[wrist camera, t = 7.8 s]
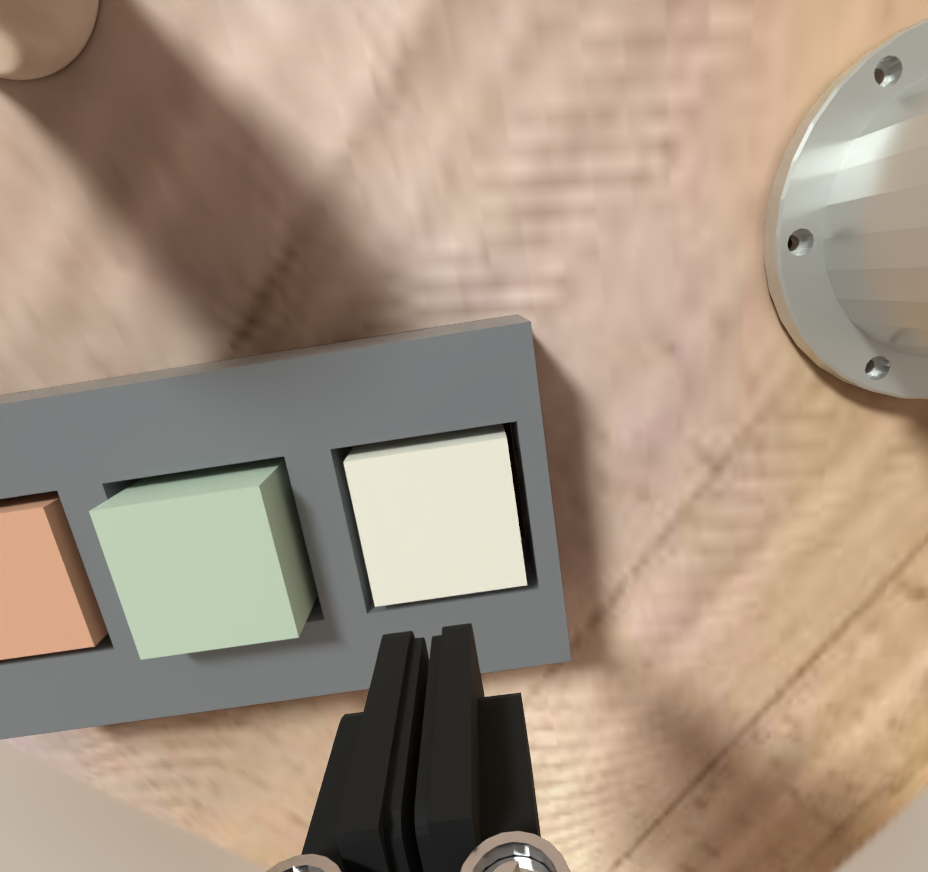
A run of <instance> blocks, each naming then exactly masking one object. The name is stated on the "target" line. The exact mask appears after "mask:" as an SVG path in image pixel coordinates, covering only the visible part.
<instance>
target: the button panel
mask: <svg viewBox="0 0 928 872" xmlns="http://www.w3.org/2000/svg"><path fill="white" fill-rule="evenodd" d="M508 422H510V425H511V433H512V440H513V447H514V455H515V462H516V469H517V477H518V484H519V492H520V499H521V506H522V514H523V521H524V528H525V536H526V539H522V540H521V544H522V551H523V558H524V565H525V572H526V580H527V585H526V586H519V587H512V588H505V589H498V590H491V591H483V592H476V593H469V594H462V595H455V596H448V597H441V598H434V599H427V600H420V601H413V602H406V603H399V604H392V605H385V606H378V607H375V605H374V600H373V596H372V591H371V587H370V582H369V577H368V573H367V568H366V564H365V559H364V555H363V550H362V545H361V541H360V536H359V532H358V527H357V522H356V518H355V513H354V509H353V504H352V500H351V495H350V490H349V486H348V481H347V477H346V472H345V468H344V463H343V462H344V460H345V459H346V457H347V456H348V454H349V453H350V451H351V449H352V448H353V446H355V445H362V444H369V443H375V442H382V441H389V440H395V439H402V438H408V437H415V436H422V435H428V434H435V433H442V432H448V431H455V430H462V429H468V428H475V427H481V426H488V425H495V424H501V423H508ZM282 456H284V458H285V462H286V466H287V470H288V474H289V478H290V482H291V486H292V490H293V494H294V498H295V502H296V506H297V511H298V515H299V519H300V523H301V527H302V531H303V535H304V539H305V543H306V547H307V551H308V555H309V559H310V563H311V567H312V571H313V576H314V580H315V584H316V588H317V592H318V596H317V598H316V600H315V603H314V605H313V607H312V609H311V612H310V614H309V616H308V618H307V620H306V623H305V625H304V627H303V629H302V632H301V634H300V636H299V638H292V639H285V640H278V641H271V642H264V643H257V644H250V645H242V646H235V647H228V648H221V649H214V650H207V651H200V652H193V653H186V654H178V655H171V656H164V657H157V658H150V659H143V660H141V659H140V656H139V654H138V651H137V648H136V645H135V642H134V639H133V636H132V633H131V631H130V628H129V625H128V622H127V619H126V616H125V613H124V611H123V608H122V605H121V602H120V599H119V596H118V593H117V590H116V588H115V585H114V582H113V579H112V576H111V573H110V570H109V568H108V565H107V562H106V559H105V556H104V553H103V550H102V547H101V545H100V542H99V539H98V536H97V533H96V530H95V527H94V525H93V522H92V519H91V516H90V513H89V511H90V510H92V509H93V508H95V507H97V506H98V505H100V504H101V503H103V502H105V501H106V500H108V499H110V498H111V497H113V496H114V495H116V494H118V493H119V492H121V491H123V490H124V489H126V488H127V487H129V486H131V485H132V484H134V483H136V482H137V481H139V480H140V479H142V478H144V477H150V476H156V475H163V474H170V473H176V472H183V471H189V470H196V469H203V468H209V467H216V466H223V465H229V464H236V463H243V462H249V461H256V460H262V459H269V458H276V457H282ZM50 491H57V492H58V494H59V497H60V500H61V503H62V505H63V508H64V511H65V514H66V517H67V519H68V522H69V525H70V528H71V530H72V533H73V536H74V539H75V541H76V544H77V547H78V550H79V553H80V555H81V558H82V561H83V564H84V566H85V569H86V572H87V575H88V578H89V580H90V583H91V586H92V589H93V591H94V594H95V597H96V600H97V602H98V605H99V608H100V611H101V614H102V616H103V619H104V622H105V625H106V627H107V630H108V634H107V635H106V636H105V637H104V638H103V639H102V640H101V641H100V642H99V643H98V644H97V645H96V646H95V647H88V648H81V649H74V650H67V651H60V652H53V653H46V654H39V655H32V656H25V657H18V658H11V659H4V660H0V739H7V738H15V737H22V736H29V735H37V734H44V733H51V732H58V731H66V730H73V729H80V728H88V727H95V726H102V725H109V724H117V723H124V722H131V721H139V720H146V719H153V718H160V717H168V716H175V715H182V714H190V713H197V712H204V711H211V710H219V709H226V708H233V707H240V706H248V705H255V704H262V703H270V702H277V701H284V700H291V699H299V698H306V697H313V696H321V695H328V694H335V693H342V692H350V691H357V690H364V689H369V688H370V684H371V680H372V676H373V671H374V667H375V663H376V659H377V655H378V651H379V647H380V642H381V638H382V636H383V635H384V634H390V633H397V632H405V631H413V633H414V635H415V638H421V637H424V638H425V641H426V645H427V650H428V655H429V659H430V649H431V640H432V636H437V635H442V627H444V626H451V625H459V624H467V623H471V624H472V627H473V632H474V638H475V644H476V650H477V656H478V662H479V668H480V673H488V672H495V671H503V670H510V669H517V668H524V667H532V666H539V665H546V664H554V663H561V662H568V661H571V653H570V644H569V636H568V628H567V619H566V611H565V603H564V595H563V586H562V578H561V570H560V561H559V553H558V545H557V537H556V528H555V520H554V512H553V503H552V495H551V487H550V478H549V470H548V462H547V454H546V445H545V437H544V429H543V420H542V412H541V404H540V395H539V387H538V379H537V371H536V362H535V354H534V346H533V337H532V329H531V321H529V320H527V319H525V318H523V317H521V316H519V315H511V316H504V317H498V318H492V319H485V320H479V321H472V322H466V323H460V324H453V325H447V326H440V327H434V328H428V329H421V330H415V331H408V332H402V333H396V334H389V335H383V336H376V337H370V338H364V339H357V340H351V341H345V342H338V343H332V344H325V345H319V346H313V347H306V348H300V349H293V350H287V351H281V352H274V353H268V354H261V355H255V356H249V357H242V358H236V359H229V360H223V361H217V362H210V363H204V364H197V365H191V366H185V367H178V368H172V369H166V370H159V371H153V372H146V373H140V374H134V375H127V376H121V377H114V378H108V379H102V380H95V381H89V382H82V383H76V384H70V385H63V386H57V387H50V388H44V389H38V390H31V391H25V392H19V393H12V394H6V395H0V499H4V498H10V497H17V496H24V495H30V494H37V493H43V492H50Z"/></svg>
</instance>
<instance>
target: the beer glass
mask: <svg viewBox="0 0 928 872" xmlns="http://www.w3.org/2000/svg"><path fill="white" fill-rule="evenodd" d="M98 7H99V0H0V78H5V79H11V80H31V79H37V78H42V77H45V76H48V75H51V74H53V73H55V72H57V71H59V70H61V69H63V68H64V67H65V66H67V65H68V64H69V63H70V62H72V61H73V60H74V59H75V58H76V57H77V55H78V54H79V53H80V52H81V51H82V49H83V48H84V46H85V45H86V43H87V41H88V39H89V37H90V35H91V33H92V31H93V28H94V25H95V22H96V18H97V13H98Z"/></svg>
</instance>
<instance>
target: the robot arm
mask: <svg viewBox="0 0 928 872" xmlns="http://www.w3.org/2000/svg"><path fill="white" fill-rule="evenodd" d="M789 238H790V239H791V240H792V246H791V248H790V249H788V245H787V244H788V240H789ZM764 262H765V268H766V275H767V281H768V287H769V291H770V294H771V297H772V299H773V302H774V305H775V307H776V310H777V313H778V315H779V318H780V320H781V322H782V323H783V325H784V326H785V328H786V329H787V331H788V333H789V334H790V336H791V337H792V339H793V340H794V342H795V343H796V345H797V346H798V347H799V348H800V349H801V350H802V351H803V352H804V353H805V354H806V355H807V356H808V357H809V358H810V359H811V360H812V361H813V362H814V363H815V364H816V365H817V366H819V367H820V368H822V369H823V370H825V371H827V372H828V373H830V374H831V375H833V376H835V377H836V378H838V379H839V380H841V381H843V382H846V383H848V384H851V385H854V386H857V387H860V388H863V389H865V390H868V391H871V392H876V393H880V394H885V395H890V396H894V397H898V398H908V399H928V18H927V19H925V20H923V21H921V22H919V23H917V24H915V25H913V26H911V27H909V28H907V29H905V30H903V31H901V32H899V33H897V34H896V35H894V36H892V37H891V38H889V39H888V40H886V41H884V42H883V43H881V44H880V45H878V46H876V47H875V48H873V49H871V50H870V51H868V52H867V53H865V54H864V55H863V56H862V57H860V58H859V59H858V60H857V61H856V62H855V63H853V64H852V65H851V66H850V67H849V68H848V69H847V70H845V71H844V72H843V73H842V74H841V75H840V76H839V77H837V78H836V79H835V80H834V81H833V82H832V83H831V85H830V86H829V87H828V88H827V89H826V91H825V92H824V93H823V94H822V95H821V97H820V98H819V99H818V100H817V101H816V103H815V104H814V105H813V106H812V107H811V109H810V110H809V111H808V112H807V114H806V116H805V117H804V119H803V121H802V122H801V124H800V126H799V127H798V129H797V131H796V132H795V134H794V136H793V138H792V139H791V141H790V143H789V144H788V146H787V148H786V150H785V153H784V156H783V158H782V161H781V163H780V166H779V168H778V171H777V173H776V176H775V179H774V181H773V184H772V188H771V193H770V198H769V203H768V207H767V212H766V217H765V227H764ZM266 872H570V870H569V868H568V866H567V864H566V862H565V860H564V858H563V856H562V854H561V853H560V852H559V851H558V850H557V849H556V848H555V847H554V846H553V845H552V844H551V843H550V842H549V841H547V840H545V839H543V838H541V835H540V827H539V819H538V811H537V804H536V796H535V788H534V780H533V773H532V765H531V758H530V751H529V744H528V737H527V730H526V723H525V717H524V710H523V703H522V697H521V693H514V694H506V695H498V696H490V697H484V691H483V685H482V679H481V673H480V668H479V662H478V656H477V650H476V644H475V638H474V632H473V627H472V624H471V623H467V624H459V625H451V626H444V627H442V635H437V636H432V640H431V649H430V659H429V655H428V650H427V645H426V641H425V638H424V637H421V638H415V635H414V633H413V631H405V632H397V633H390V634H384V635H383V636H382V638H381V642H380V647H379V651H378V655H377V659H376V663H375V667H374V671H373V676H372V680H371V684H370V688H369V692H368V696H367V700H366V705H365V709H364V712H360V713H352V714H345V715H344V716H343V717H342V719H341V721H340V724H339V727H338V730H337V733H336V737H335V740H334V744H333V747H332V751H331V754H330V758H329V761H328V765H327V768H326V771H325V775H324V778H323V782H322V785H321V789H320V792H319V796H318V799H317V803H316V806H315V809H314V813H313V816H312V820H311V823H310V827H309V830H308V834H307V837H306V840H305V844H304V847H303V851H302V854H301V855H298V856H294V857H292V858H289V859H287V860H284V861H282V862H279V863H278V864H277V865H275V866H274V867H272V868H271V869H269V870H268V871H266Z"/></svg>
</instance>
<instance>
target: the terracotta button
mask: <svg viewBox="0 0 928 872" xmlns="http://www.w3.org/2000/svg"><path fill="white" fill-rule="evenodd" d="M107 634H108V630H107V627H106V625H105V622H104V619H103V616H102V614H101V611H100V608H99V605H98V602H97V600H96V597H95V594H94V591H93V589H92V586H91V583H90V580H89V578H88V575H87V572H86V569H85V566H84V564H83V561H82V558H81V555H80V553H79V550H78V547H77V544H76V541H75V539H74V536H73V533H72V530H71V528H70V525H69V522H68V519H67V517H66V514H65V511H64V508H63V505H62V503H61V500H60V497H59V494H58V492H57V491H50V492H43V493H37V494H30V495H24V496H17V497H10V498H4V499H0V660H4V659H11V658H18V657H25V656H32V655H39V654H46V653H53V652H60V651H67V650H74V649H81V648H88V647H95V646H96V645H97V644H98V643H99V642H100V641H101V640H102V639H103V638H104V637H105V636H106V635H107Z"/></svg>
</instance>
